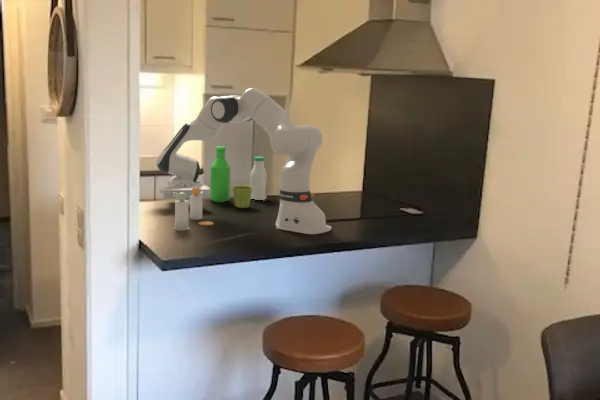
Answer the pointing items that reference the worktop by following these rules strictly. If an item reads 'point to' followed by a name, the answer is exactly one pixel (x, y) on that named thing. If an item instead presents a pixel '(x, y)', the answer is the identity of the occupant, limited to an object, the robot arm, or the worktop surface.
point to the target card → (200, 224)
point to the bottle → (220, 177)
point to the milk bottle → (258, 180)
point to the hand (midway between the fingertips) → (189, 195)
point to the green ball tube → (181, 212)
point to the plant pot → (242, 196)
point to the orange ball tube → (196, 204)
